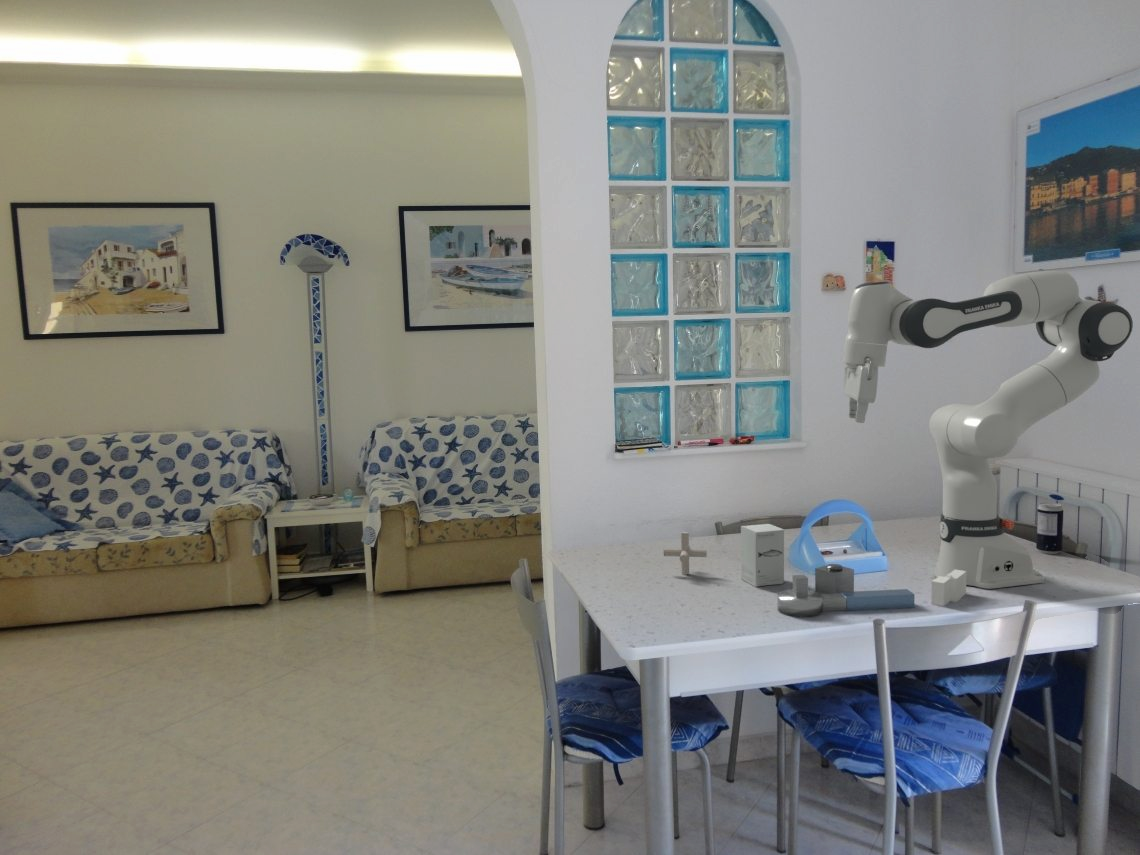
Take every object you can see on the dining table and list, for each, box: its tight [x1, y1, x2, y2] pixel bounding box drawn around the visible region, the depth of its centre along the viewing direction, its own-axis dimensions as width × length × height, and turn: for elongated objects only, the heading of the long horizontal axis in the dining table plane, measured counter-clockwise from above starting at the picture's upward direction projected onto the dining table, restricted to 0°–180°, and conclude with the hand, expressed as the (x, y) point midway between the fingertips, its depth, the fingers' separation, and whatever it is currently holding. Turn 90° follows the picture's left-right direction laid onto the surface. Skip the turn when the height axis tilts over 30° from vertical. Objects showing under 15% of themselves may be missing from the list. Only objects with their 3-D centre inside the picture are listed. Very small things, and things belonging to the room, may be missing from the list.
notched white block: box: [930, 570, 967, 607], centre depth 183 cm, size 15×11×6 cm
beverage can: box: [1035, 502, 1064, 555], centre depth 216 cm, size 6×6×12 cm
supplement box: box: [740, 523, 785, 588], centre depth 198 cm, size 7×7×13 cm
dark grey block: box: [814, 563, 855, 594], centre depth 186 cm, size 6×6×7 cm
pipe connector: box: [663, 531, 708, 576], centre depth 206 cm, size 10×10×10 cm
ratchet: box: [777, 574, 916, 618], centre depth 178 cm, size 28×9×7 cm, turn 93°
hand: (856, 420), depth 190 cm, fingers open, 8 cm apart
